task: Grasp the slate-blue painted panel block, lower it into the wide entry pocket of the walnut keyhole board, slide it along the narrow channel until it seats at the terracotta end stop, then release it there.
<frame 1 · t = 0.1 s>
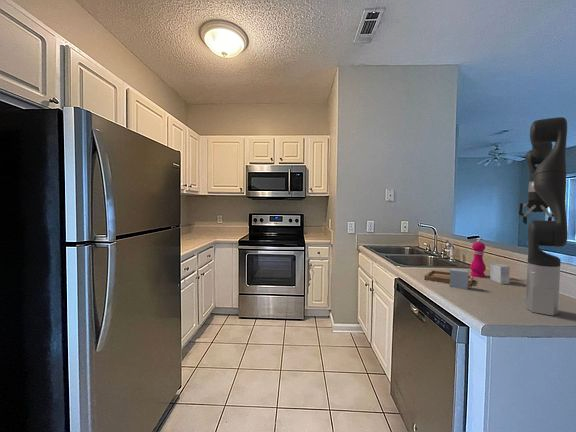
hand: (536, 224, 146), 29 cm above the table, fingers open, 8 cm apart
panel block: (458, 287, 143), on the table
pepper mill: (477, 276, 164), on the table
medicine box: (499, 282, 152), on the table
keyhole board: (448, 279, 156), on the table
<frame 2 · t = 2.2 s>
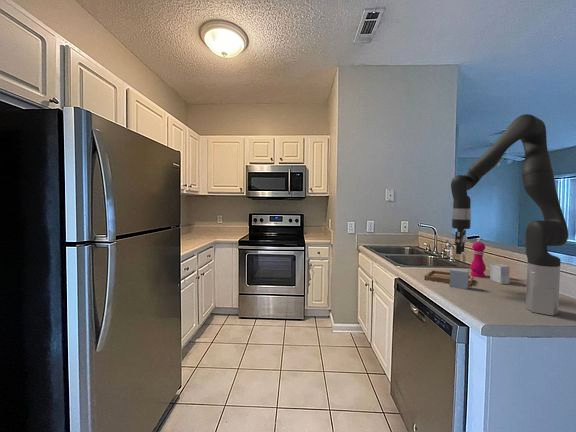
hand: (460, 252, 142), 16 cm above the table, fingers open, 8 cm apart
nothing on the table moved.
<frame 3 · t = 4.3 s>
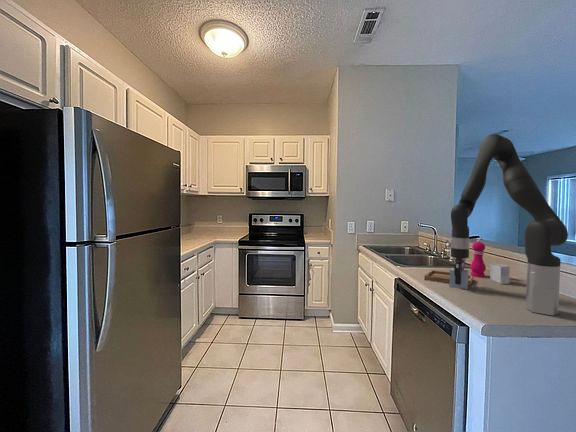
hand: (458, 283, 142), 2 cm above the table, fingers closed on panel block, 4 cm apart
panel block: (458, 286, 143), on the table, touching gripper
everything else where it was.
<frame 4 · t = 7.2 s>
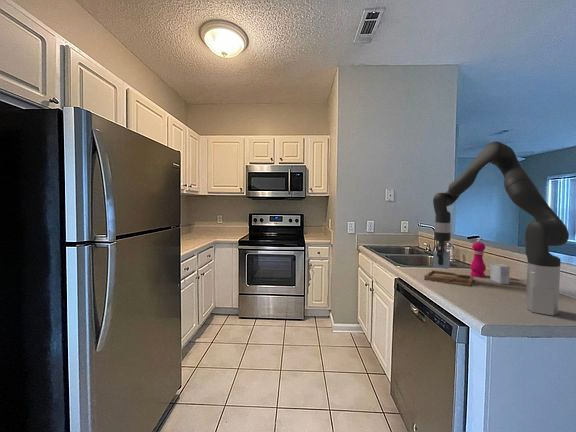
hand: (441, 263, 158), 8 cm above the table, fingers closed on panel block, 4 cm apart
panel block: (441, 267, 158), point 6 cm above the table, touching gripper
everything else where it was.
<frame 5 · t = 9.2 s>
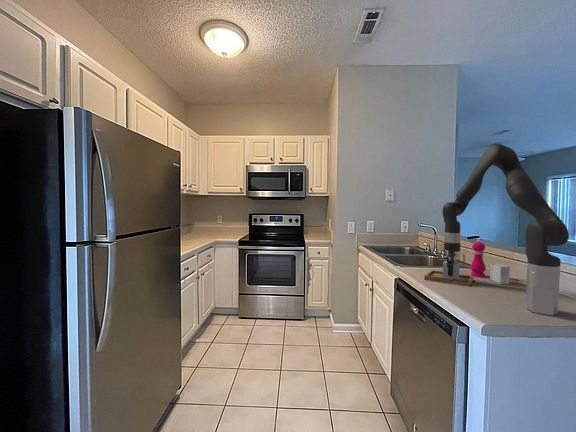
hand: (451, 274, 155), 3 cm above the table, fingers closed on panel block, 4 cm apart
panel block: (450, 278, 155), point 1 cm above the table, touching gripper
everything else where it was.
when the fingers open (3 cm above the table, at t = 10.5 s): panel block stays where it is, resting on keyhole board.
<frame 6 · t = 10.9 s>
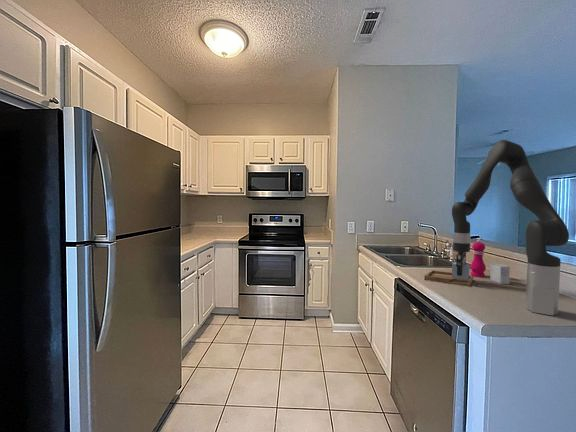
hand: (460, 274, 152), 4 cm above the table, fingers open, 7 cm apart
panel block: (460, 279, 153), point 1 cm above the table, touching keyhole board
everything else where it was.
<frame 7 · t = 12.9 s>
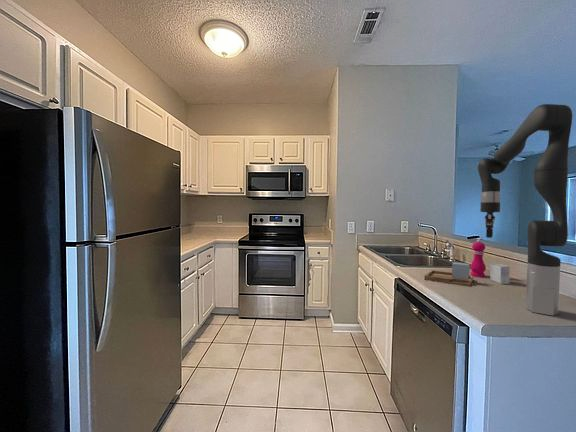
hand: (489, 237, 139), 24 cm above the table, fingers open, 8 cm apart
nothing on the table moved.
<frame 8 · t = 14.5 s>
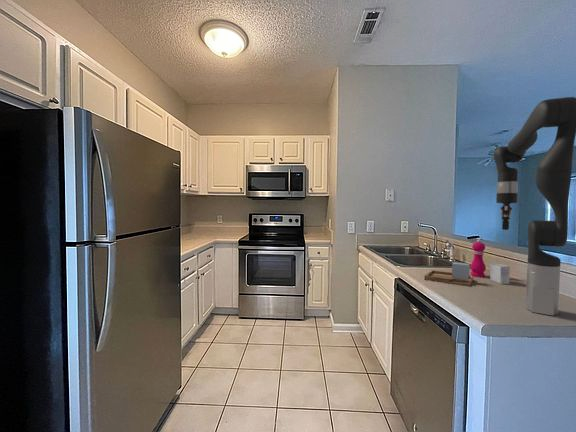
hand: (505, 229, 133), 28 cm above the table, fingers open, 8 cm apart
nothing on the table moved.
at the end: panel block 0.2 cm from the target spot, point 1.0 cm above the table; panel block tilted 0°; the gripper is holding nothing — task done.
